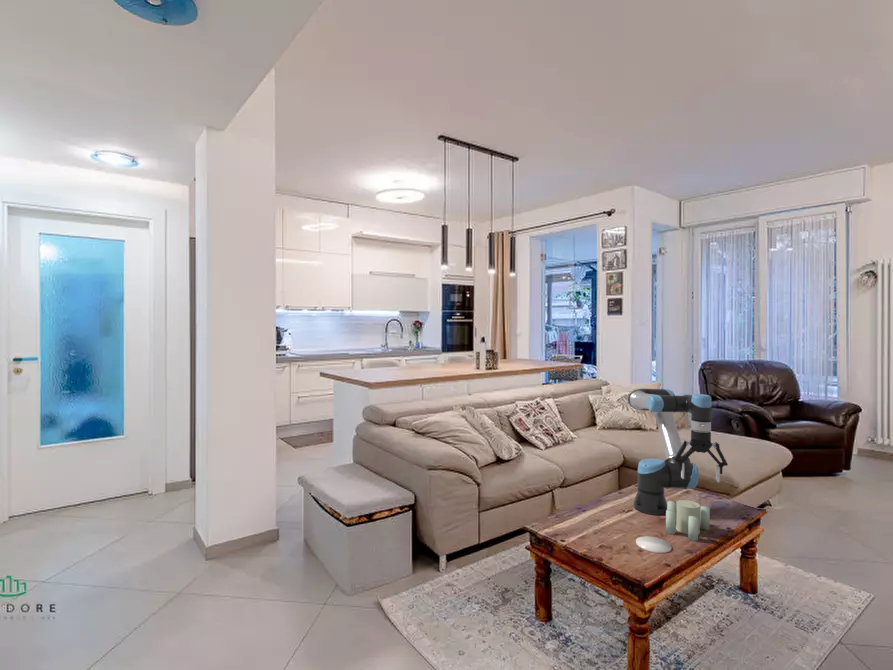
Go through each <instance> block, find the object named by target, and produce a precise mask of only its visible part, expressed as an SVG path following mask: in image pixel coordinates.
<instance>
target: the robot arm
mask: <svg viewBox="0 0 893 670" xmlns="http://www.w3.org/2000/svg"><path fill="white" fill-rule="evenodd" d="M627 404H628V405H629V406H630V407H632V409H634V410H637V411H645V412H646V411H648V412H650V414H651V415H652V417H654V418H655V421H656V424H657V429H658V432H659V437H660V440H661V443H662V447H663V451H664V454H665V459H664V460H663V459H660V458H655V457H652V458H645V459H644V458H643V459H641V460H640V461H639V462H638V467H637V492H636V494H635V497H634V499H633V509H635V510H636V511H639V512H641V513H644V514H648V515H654V516H661V515H666V510H667V500H666V496H665V489H680V490H687V489H689V490H690V489H695V488H696V487H697V486H698V483H699V477H700V474H699V473H700V472H699V467H698V465H697V463H694V462H691V459H690V456H691V455H692V454H694V453H695V452H696V453H703V454H706V453H708V455H710V457H711V458H712V459H713V460H714V461H715V462H716V463H717V464H716V466H715V467H716V468H715V471H716V473H715V480H716V482H717V483H720V480H721V478H720V477H721V475H722V474H723V467H725V466H726V467H727V466H728V462H727V460H726V458H725V456H724V454H723V452H722V450H721V448H720V447H721V446H720V443H718V442H716V441H715V442H712V407H713V403H712V396H710V395H709V394H704V393H703V394H702V393H694V394H682V395H676V394H675V393H674V392H673V390H671V389H668V388H667V389H666V388H638V389H635V390H633V391H631V392H629V394H628V396H627ZM675 413H689V414H691V420H690V422H691V424H690V428H691V429H690V441H688V440H685V439H683V440H682V441H681V437H680V433H679V430H678V428H677V423H676V420H675V417H674V414H675ZM689 445H690V446H691V447H690V448H689V449H688V450H687V451H686V452H685V450H686V448H687V446H689ZM712 447H713V448H714V449H715V450H716V453H717V455H718V457H719V458H720V460H719V459H718V458H717V457H716V455H715V454H714V453H713V452H712V451H711V448H712Z"/></svg>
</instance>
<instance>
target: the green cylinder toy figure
mask: <svg viewBox="0 0 893 670" xmlns="http://www.w3.org/2000/svg"><path fill="white" fill-rule="evenodd" d="M675 502H676V524H675V530H676V531H677V532H679V533H682V534H685V535H688V517H689V516H696V517H698V535H700V534H701V531H700V529H701V528H700V506H701V505H700V503H698V502H696V501H693V500H688V499H679V500H677V501H675Z"/></svg>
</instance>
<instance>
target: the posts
mask: <svg viewBox="0 0 893 670" xmlns="http://www.w3.org/2000/svg"><path fill="white" fill-rule="evenodd" d="M666 502H667V510H666V514H665V533H666V534H668V535H675V534H676V517H677V503H676V502H677V501H674V500H666ZM710 515H711V508H710V507H709V506H706V505H700V529H702V530H705V531H709V530H710V525H711V524H710V521H711V520H710V519H711V518H710V517H711V516H710ZM687 538H688V540H689V541H691V542H698V541H699V534H698V517H696V516H689V517H688V534H687Z"/></svg>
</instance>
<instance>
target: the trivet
mask: <svg viewBox="0 0 893 670" xmlns="http://www.w3.org/2000/svg"><path fill="white" fill-rule="evenodd" d="M635 544H636V546H638V547H639V548H640V549H643V550H644V551H647V552H650V553H656V554H667V553H669V552H671V551H672V549H673V547H672V545H671V543H669V541H667V540H665V539H662V538H659V537H656V536H647V535H645V536H639V537H637V538H636V539H635Z"/></svg>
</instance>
